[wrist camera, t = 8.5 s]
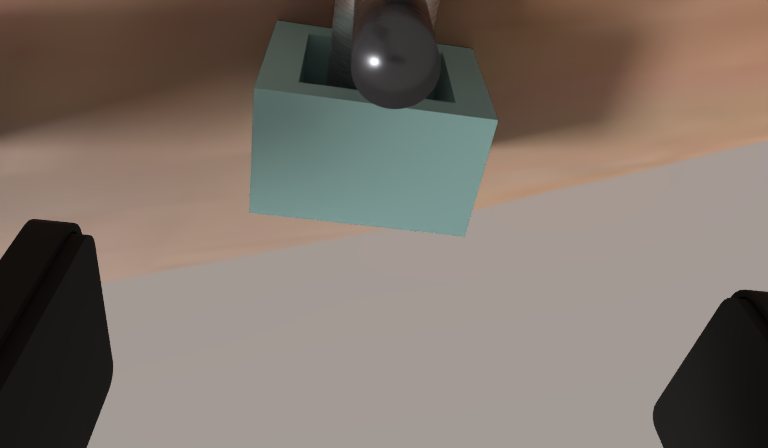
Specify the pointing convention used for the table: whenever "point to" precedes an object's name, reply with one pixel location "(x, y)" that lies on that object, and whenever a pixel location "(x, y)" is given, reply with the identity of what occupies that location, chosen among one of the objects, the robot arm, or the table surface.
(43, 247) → the robot arm
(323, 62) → the socket block
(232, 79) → the table surface
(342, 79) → the slip tube
